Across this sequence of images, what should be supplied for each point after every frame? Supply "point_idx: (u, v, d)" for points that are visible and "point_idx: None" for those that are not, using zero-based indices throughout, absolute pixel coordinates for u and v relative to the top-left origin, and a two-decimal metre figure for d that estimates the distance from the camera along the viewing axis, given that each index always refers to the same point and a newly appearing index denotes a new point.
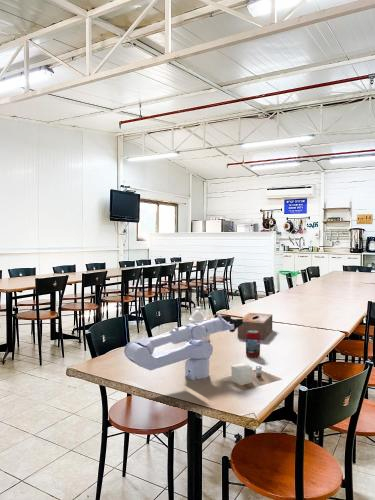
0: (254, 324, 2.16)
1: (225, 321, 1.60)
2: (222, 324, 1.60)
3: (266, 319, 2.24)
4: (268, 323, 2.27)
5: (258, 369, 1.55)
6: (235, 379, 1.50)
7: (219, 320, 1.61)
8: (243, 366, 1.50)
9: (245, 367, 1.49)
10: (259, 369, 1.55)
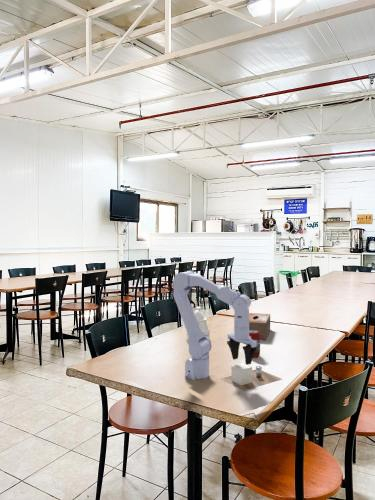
0: (257, 324, 2.16)
1: (252, 340, 1.48)
2: (247, 337, 1.48)
3: (267, 319, 2.24)
4: (268, 323, 2.28)
5: (258, 369, 1.55)
6: (235, 379, 1.50)
7: None
8: (243, 366, 1.50)
9: (245, 367, 1.49)
10: (259, 369, 1.55)
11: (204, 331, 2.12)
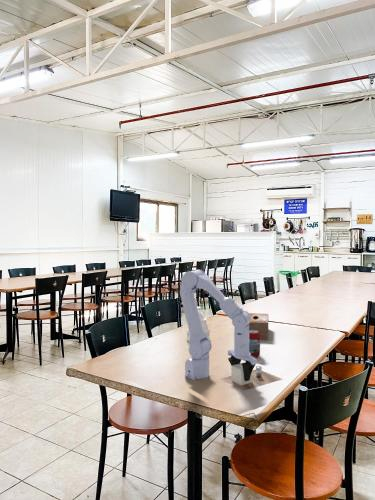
0: (259, 324, 2.16)
1: (252, 357, 1.48)
2: (247, 354, 1.48)
3: (267, 319, 2.25)
4: None
5: (258, 369, 1.55)
6: (235, 379, 1.50)
7: None
8: None
9: None
10: (259, 369, 1.55)
11: (204, 331, 2.12)
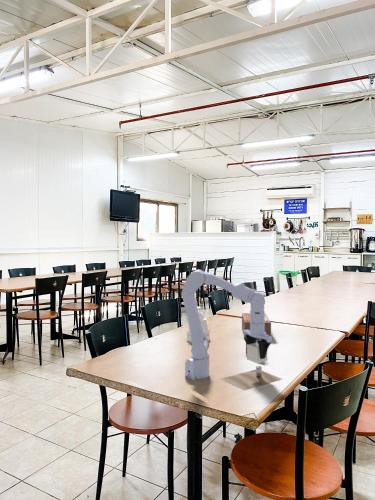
0: None
1: (267, 335, 1.52)
2: (263, 333, 1.52)
3: (268, 318, 2.26)
4: None
5: (258, 369, 1.55)
6: (251, 357, 1.54)
7: None
8: None
9: None
10: (259, 369, 1.55)
11: (204, 331, 2.12)
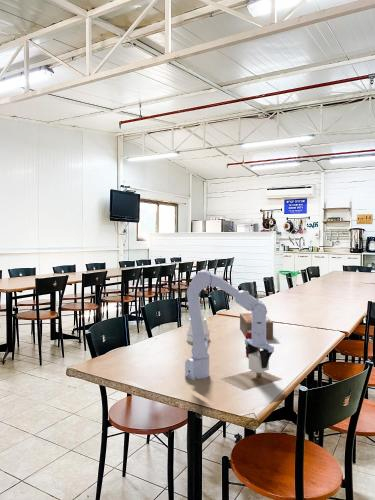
0: None
1: (269, 345, 1.53)
2: (264, 342, 1.53)
3: (268, 318, 2.26)
4: None
5: None
6: (252, 367, 1.54)
7: None
8: (259, 354, 1.55)
9: None
10: None
11: (204, 331, 2.12)
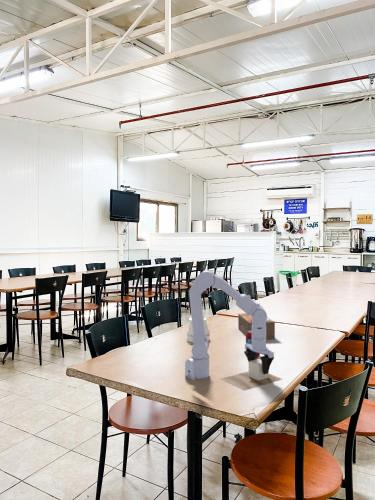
0: (266, 324, 2.16)
1: (269, 350, 1.53)
2: (264, 348, 1.53)
3: (268, 318, 2.27)
4: None
5: None
6: (252, 374, 1.54)
7: None
8: (259, 362, 1.55)
9: None
10: None
11: None
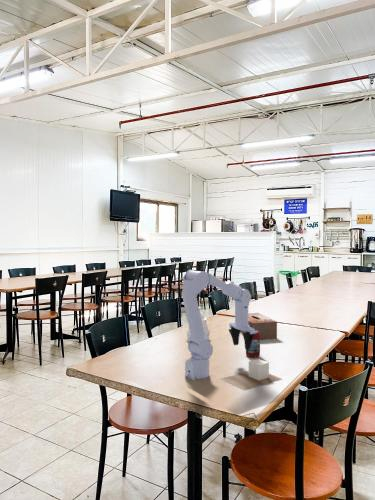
0: (269, 324, 2.17)
1: (250, 327, 1.67)
2: (246, 325, 1.68)
3: None
4: None
5: None
6: (252, 374, 1.54)
7: None
8: (259, 362, 1.55)
9: (262, 363, 1.54)
10: None
11: (204, 331, 2.12)
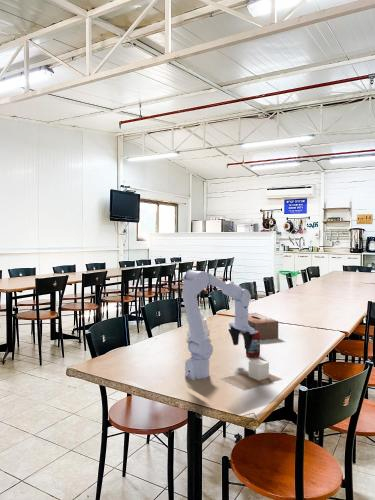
0: (270, 324, 2.18)
1: (250, 327, 1.68)
2: (246, 325, 1.68)
3: None
4: None
5: None
6: (252, 374, 1.54)
7: None
8: (259, 362, 1.55)
9: (262, 363, 1.54)
10: None
11: (204, 331, 2.12)
